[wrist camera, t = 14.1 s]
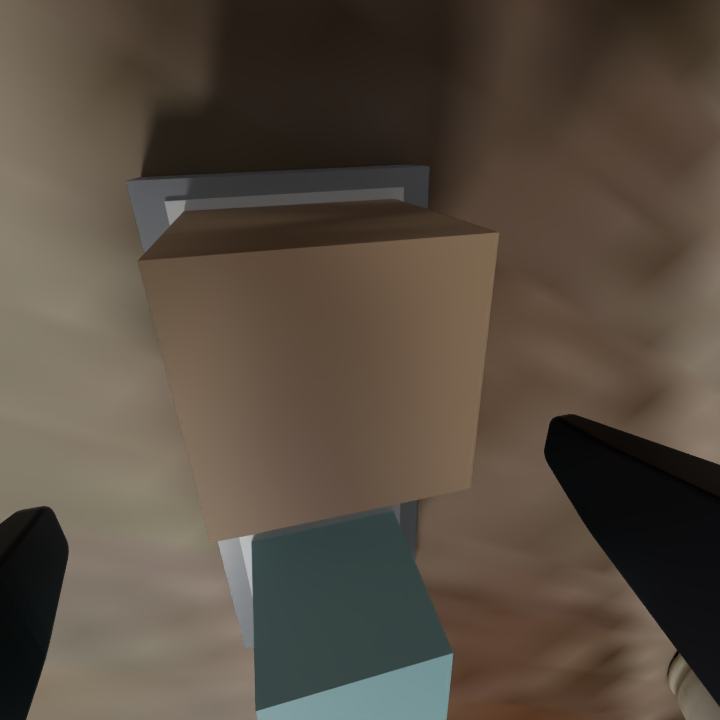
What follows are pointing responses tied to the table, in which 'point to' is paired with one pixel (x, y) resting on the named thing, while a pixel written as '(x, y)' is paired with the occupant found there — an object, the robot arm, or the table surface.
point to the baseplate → (272, 188)
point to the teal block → (346, 627)
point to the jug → (691, 692)
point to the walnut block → (322, 355)
